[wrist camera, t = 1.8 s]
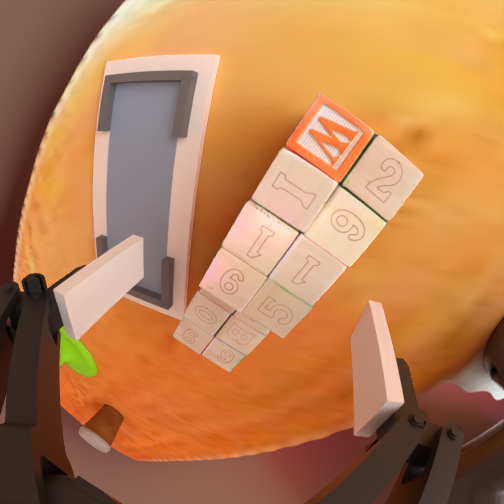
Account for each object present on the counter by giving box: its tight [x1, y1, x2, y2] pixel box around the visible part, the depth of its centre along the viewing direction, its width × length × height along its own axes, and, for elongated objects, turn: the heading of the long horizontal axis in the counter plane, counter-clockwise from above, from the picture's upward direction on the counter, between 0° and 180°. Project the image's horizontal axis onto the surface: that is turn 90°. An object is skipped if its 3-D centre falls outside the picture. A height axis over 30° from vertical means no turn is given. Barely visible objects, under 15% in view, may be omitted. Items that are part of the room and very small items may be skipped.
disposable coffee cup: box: [79, 405, 124, 453], centre depth 51 cm, size 10×10×12 cm
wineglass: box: [59, 326, 97, 377], centre depth 40 cm, size 16×16×18 cm
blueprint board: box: [93, 54, 220, 320], centre depth 27 cm, size 14×30×2 cm, turn 169°
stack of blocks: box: [172, 94, 423, 372], centre depth 21 cm, size 21×6×12 cm, turn 148°
